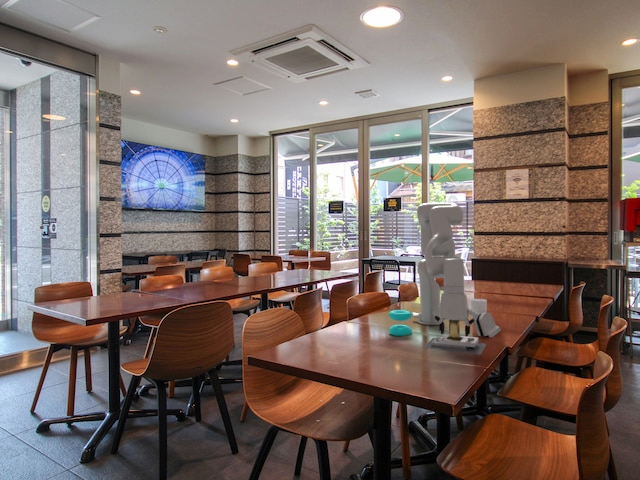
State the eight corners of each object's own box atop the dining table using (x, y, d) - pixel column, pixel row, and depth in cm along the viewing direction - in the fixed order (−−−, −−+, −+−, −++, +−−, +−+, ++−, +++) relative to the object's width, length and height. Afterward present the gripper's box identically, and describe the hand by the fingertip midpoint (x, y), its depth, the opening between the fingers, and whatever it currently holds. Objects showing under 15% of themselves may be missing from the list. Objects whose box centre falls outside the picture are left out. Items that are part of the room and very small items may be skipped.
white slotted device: (490, 338, 169) (481, 315, 171) (479, 341, 172) (471, 318, 174) (501, 330, 182) (492, 309, 184) (490, 333, 185) (482, 311, 187)
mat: (422, 349, 156) (422, 347, 156) (432, 339, 170) (432, 338, 170) (480, 356, 146) (480, 354, 146) (486, 345, 160) (486, 343, 160)
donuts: (410, 314, 173) (386, 313, 177) (410, 337, 174) (387, 336, 177) (412, 309, 183) (390, 309, 186) (413, 332, 183) (391, 330, 186)
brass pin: (448, 346, 157) (447, 320, 157) (450, 343, 161) (450, 318, 161) (459, 347, 155) (458, 321, 155) (461, 345, 159) (460, 319, 159)
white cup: (488, 318, 207) (488, 299, 207) (485, 321, 201) (485, 301, 201) (472, 317, 212) (472, 298, 212) (468, 320, 205) (468, 300, 205)
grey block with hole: (431, 346, 158) (430, 337, 158) (436, 340, 166) (436, 332, 166) (474, 351, 150) (474, 341, 150) (478, 345, 158) (478, 336, 158)
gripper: (428, 290, 159) (429, 334, 159) (476, 292, 150) (476, 339, 150) (433, 287, 165) (434, 330, 165) (479, 289, 156) (479, 334, 157)
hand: (454, 334), depth 158 cm, fingers open, 8 cm apart
